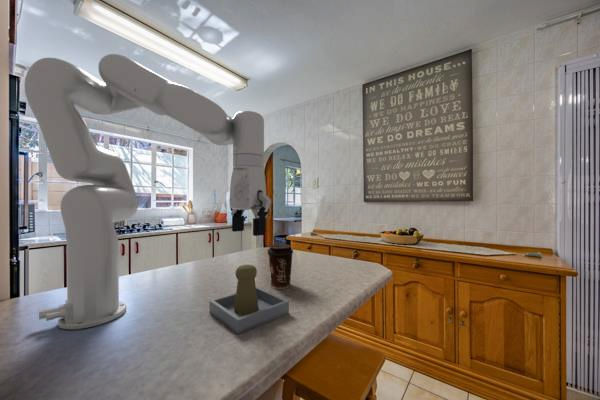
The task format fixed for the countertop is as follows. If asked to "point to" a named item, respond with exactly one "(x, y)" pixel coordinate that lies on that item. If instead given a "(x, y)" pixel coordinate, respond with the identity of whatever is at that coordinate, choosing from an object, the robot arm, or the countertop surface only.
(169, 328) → the countertop surface
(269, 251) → the coffee cup
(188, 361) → the countertop surface
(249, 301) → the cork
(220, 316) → the tray
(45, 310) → the robot arm
